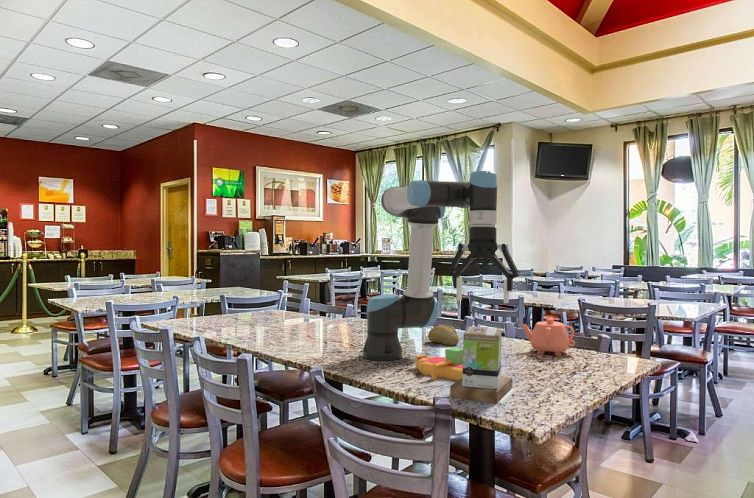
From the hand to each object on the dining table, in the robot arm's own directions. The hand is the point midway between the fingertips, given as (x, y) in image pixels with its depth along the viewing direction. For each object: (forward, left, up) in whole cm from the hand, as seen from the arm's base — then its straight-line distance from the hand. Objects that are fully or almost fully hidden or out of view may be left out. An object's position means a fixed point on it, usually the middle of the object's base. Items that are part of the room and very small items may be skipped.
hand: (482, 301), depth 150 cm
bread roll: (-37, +69, -27) cm, 83 cm away
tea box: (0, 0, -23) cm, 23 cm away
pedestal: (0, 0, -26) cm, 26 cm away
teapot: (+6, +71, -27) cm, 76 cm away
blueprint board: (-1, 0, -27) cm, 27 cm away
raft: (-15, +17, -27) cm, 36 cm away
